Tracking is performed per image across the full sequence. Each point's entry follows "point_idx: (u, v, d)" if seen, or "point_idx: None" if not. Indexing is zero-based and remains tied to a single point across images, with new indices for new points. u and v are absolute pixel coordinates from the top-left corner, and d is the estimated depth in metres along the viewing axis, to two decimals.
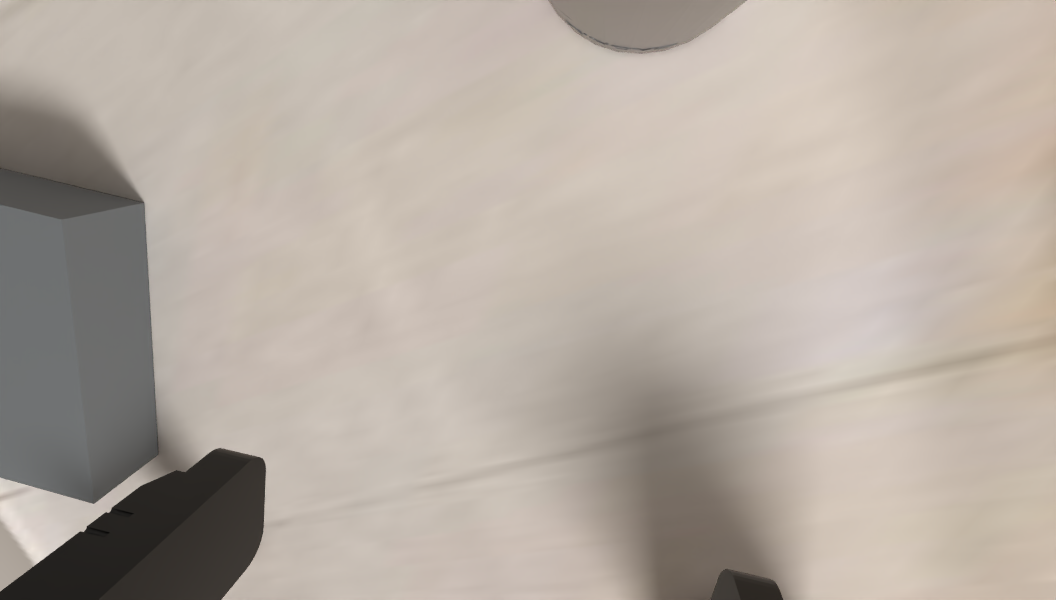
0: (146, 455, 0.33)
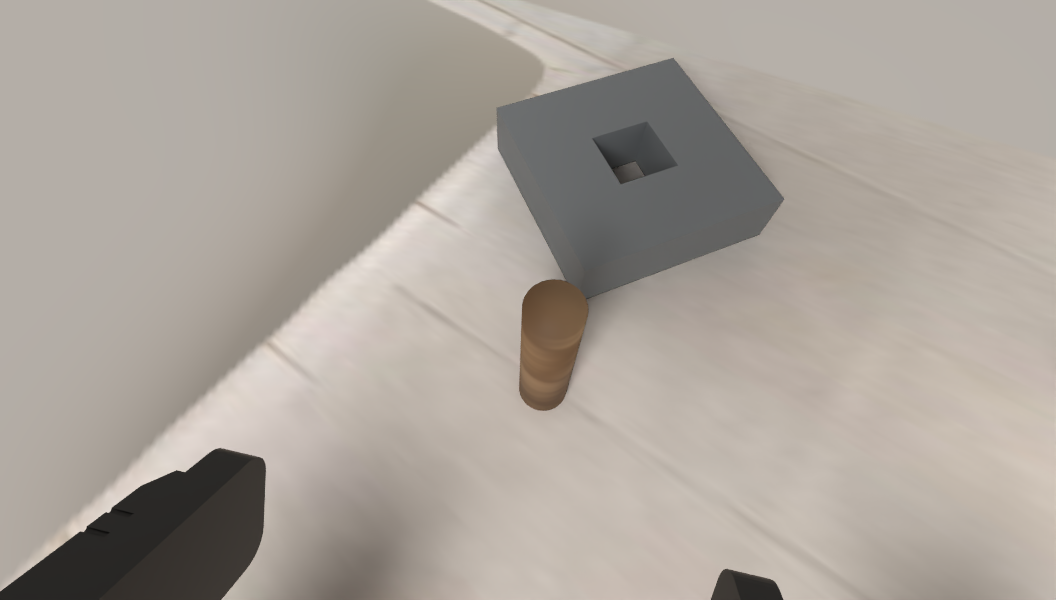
0: (586, 294, 0.39)
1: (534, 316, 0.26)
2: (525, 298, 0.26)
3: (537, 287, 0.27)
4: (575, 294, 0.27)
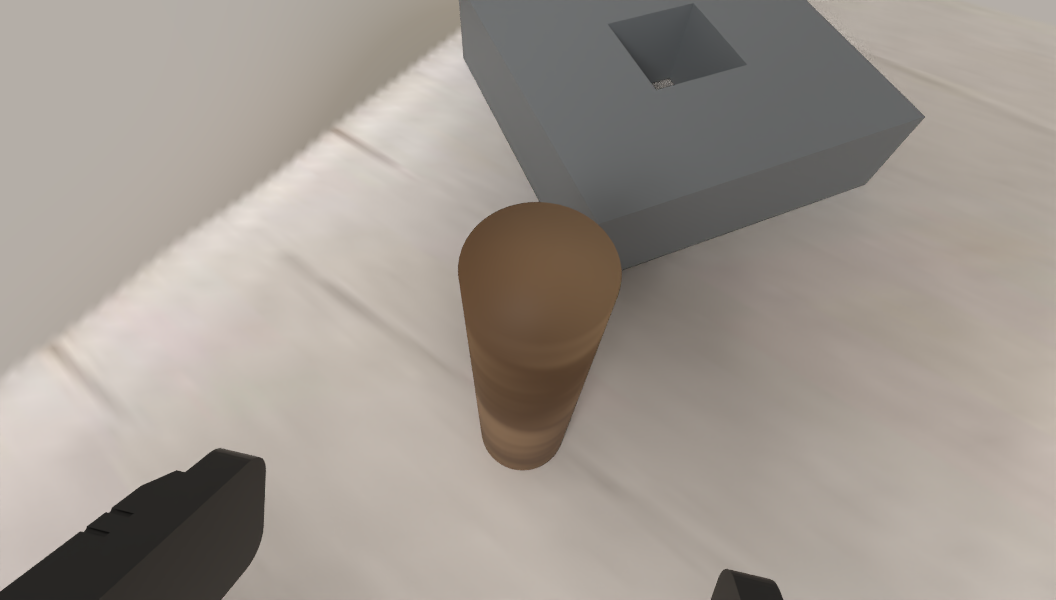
0: None
1: (489, 286, 0.10)
2: (468, 243, 0.11)
3: (498, 218, 0.11)
4: (589, 235, 0.11)
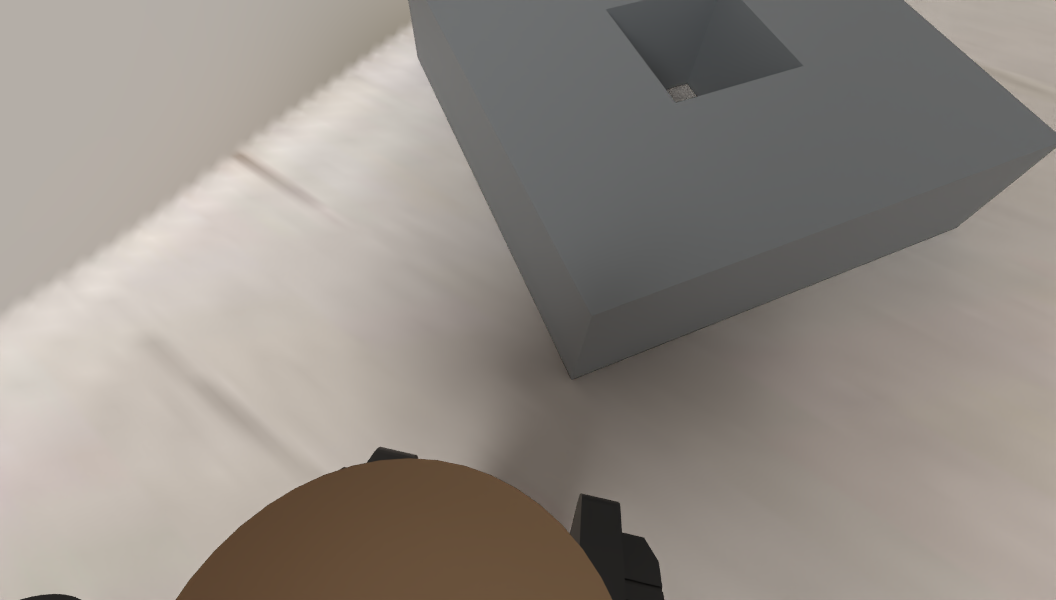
0: (591, 363, 0.16)
1: None
2: None
3: (282, 524, 0.04)
4: (547, 586, 0.04)
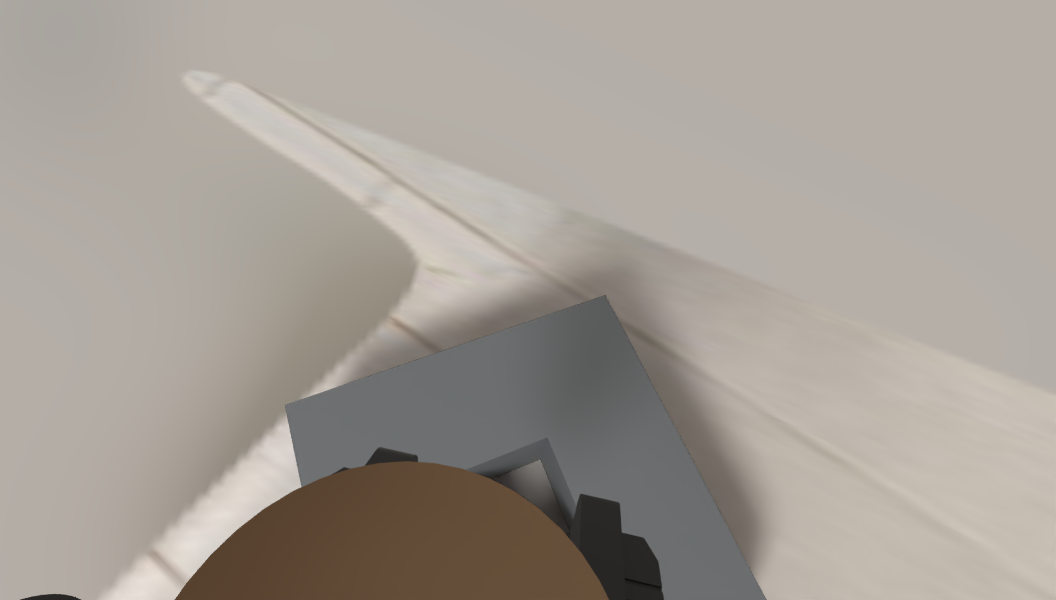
0: None
1: None
2: None
3: (279, 528, 0.04)
4: (546, 590, 0.04)
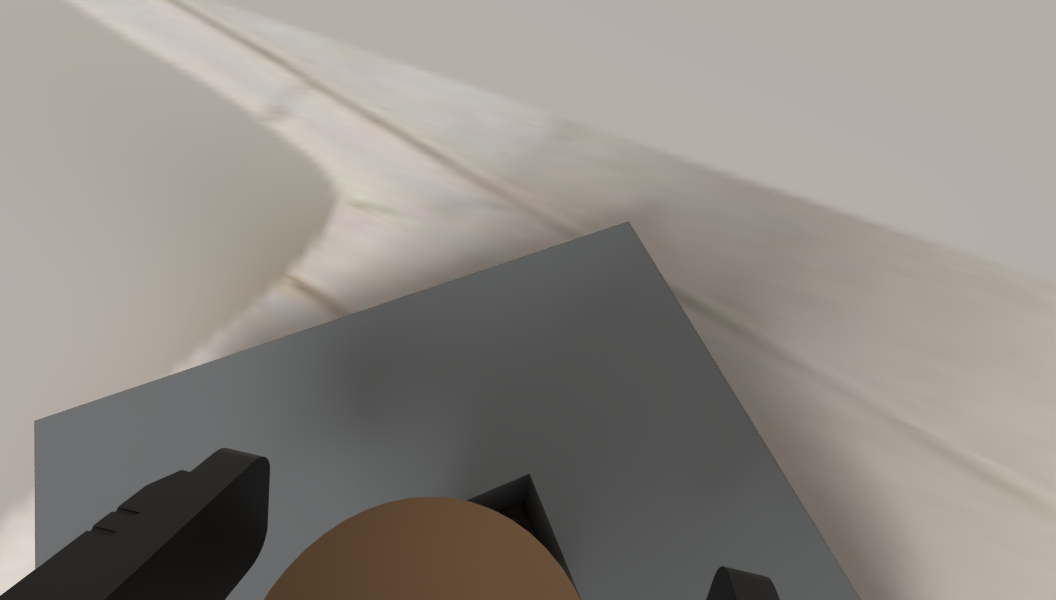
0: None
1: None
2: None
3: (336, 547, 0.05)
4: (534, 594, 0.05)
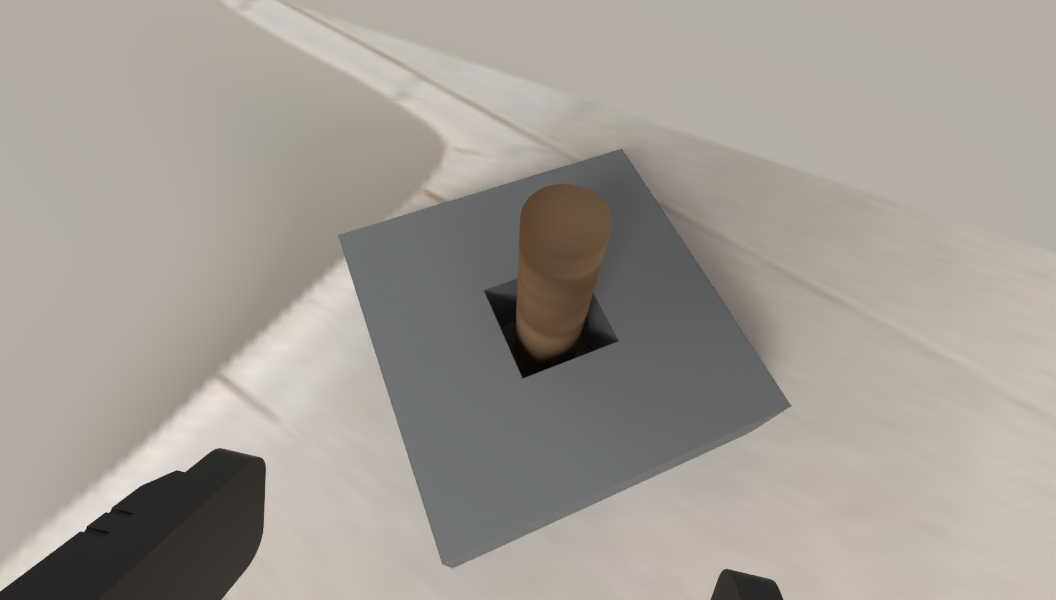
0: (463, 562, 0.24)
1: (538, 230, 0.19)
2: (524, 206, 0.19)
3: (541, 193, 0.19)
4: (594, 202, 0.19)
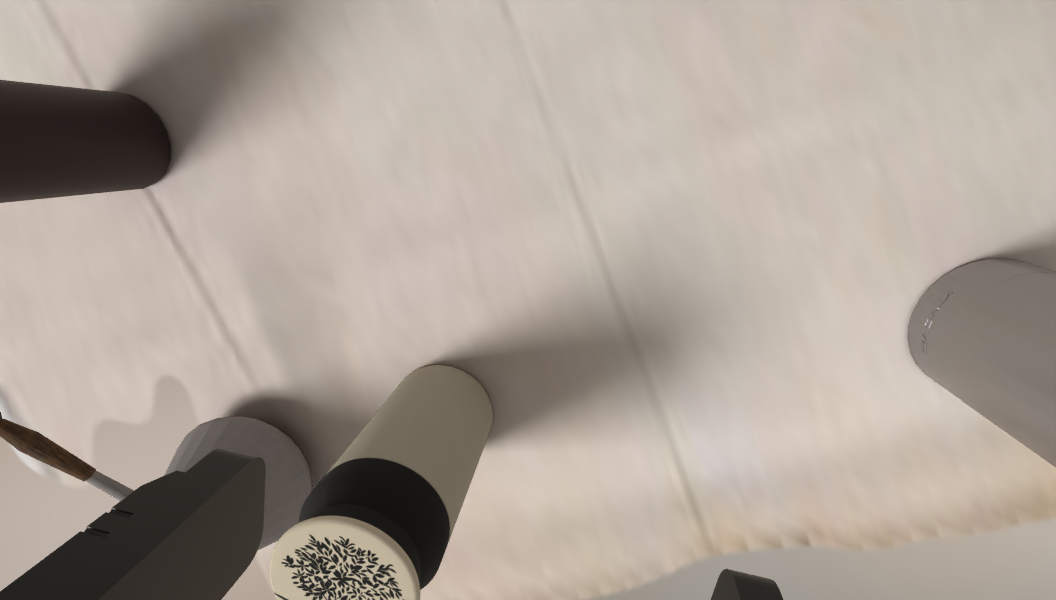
0: None
1: None
2: None
3: None
4: None
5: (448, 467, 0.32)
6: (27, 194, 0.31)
